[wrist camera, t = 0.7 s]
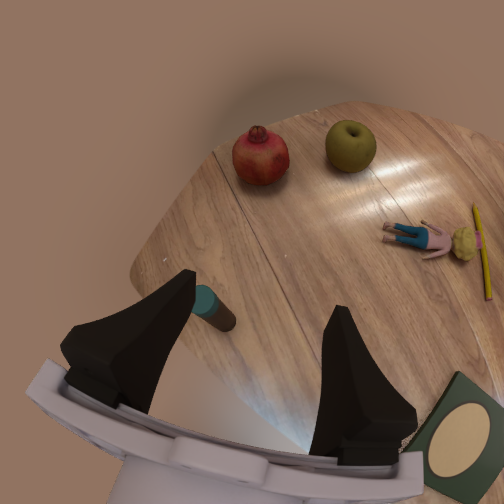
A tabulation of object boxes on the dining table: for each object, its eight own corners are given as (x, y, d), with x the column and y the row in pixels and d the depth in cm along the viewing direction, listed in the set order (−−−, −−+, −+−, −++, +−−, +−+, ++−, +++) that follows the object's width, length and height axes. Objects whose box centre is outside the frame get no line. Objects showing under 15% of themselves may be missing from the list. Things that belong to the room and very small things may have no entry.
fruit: (258, 151, 44) (250, 103, 35) (300, 170, 41) (300, 120, 32) (227, 183, 42) (211, 135, 33) (270, 206, 39) (262, 157, 30)
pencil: (489, 301, 28) (493, 299, 27) (485, 300, 28) (488, 298, 27) (474, 204, 34) (476, 200, 33) (469, 203, 35) (472, 199, 34)
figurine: (380, 257, 34) (471, 272, 30) (387, 241, 31) (486, 259, 26) (381, 219, 37) (468, 235, 32) (388, 201, 33) (481, 220, 29)
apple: (330, 185, 39) (335, 151, 33) (318, 148, 43) (320, 114, 36) (377, 180, 39) (387, 148, 32) (361, 144, 42) (367, 112, 36)
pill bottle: (232, 335, 32) (208, 318, 23) (211, 328, 33) (180, 308, 24) (239, 314, 33) (218, 289, 24) (219, 307, 34) (192, 281, 25)
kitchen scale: (521, 427, 18) (526, 427, 17) (470, 506, 15) (473, 508, 14) (455, 371, 25) (459, 370, 24) (391, 464, 22) (394, 466, 21)
